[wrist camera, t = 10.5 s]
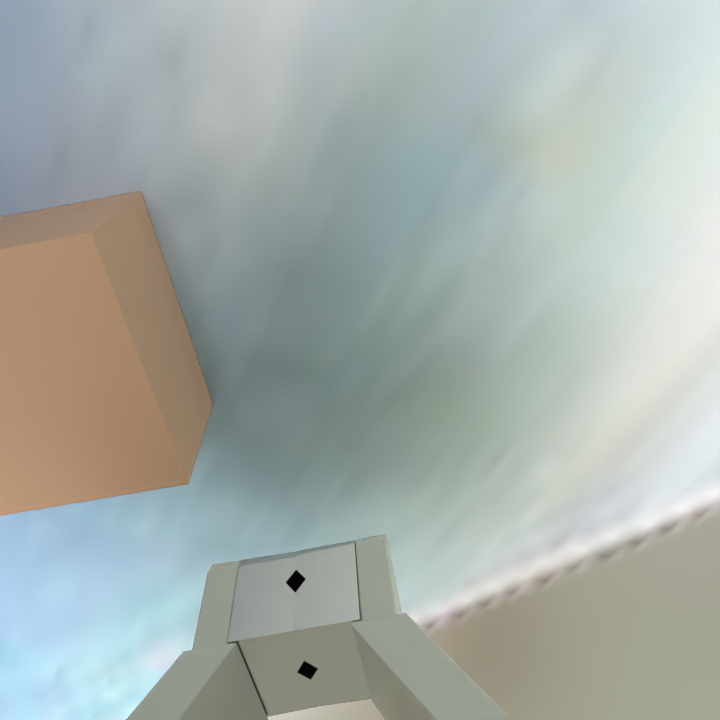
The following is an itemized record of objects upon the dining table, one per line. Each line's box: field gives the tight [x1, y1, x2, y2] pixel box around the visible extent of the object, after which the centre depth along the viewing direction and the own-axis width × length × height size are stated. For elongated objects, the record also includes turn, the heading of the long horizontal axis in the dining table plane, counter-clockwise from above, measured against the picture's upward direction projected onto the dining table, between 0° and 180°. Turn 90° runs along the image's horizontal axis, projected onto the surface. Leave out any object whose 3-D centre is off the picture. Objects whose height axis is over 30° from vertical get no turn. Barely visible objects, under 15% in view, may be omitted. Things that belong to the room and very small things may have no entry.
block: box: [0, 191, 213, 516], centre depth 24 cm, size 10×10×6 cm
